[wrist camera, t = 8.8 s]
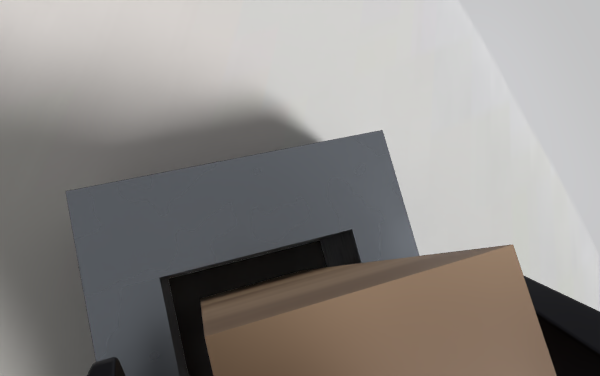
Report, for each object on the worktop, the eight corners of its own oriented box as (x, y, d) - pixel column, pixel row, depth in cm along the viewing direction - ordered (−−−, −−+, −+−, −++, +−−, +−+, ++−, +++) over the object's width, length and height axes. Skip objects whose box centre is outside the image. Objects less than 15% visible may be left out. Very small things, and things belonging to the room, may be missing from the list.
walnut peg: (327, 373, 17) (624, 578, 5) (224, 408, 16) (301, 767, 4) (301, 270, 18) (513, 244, 6) (200, 298, 17) (203, 336, 5)
